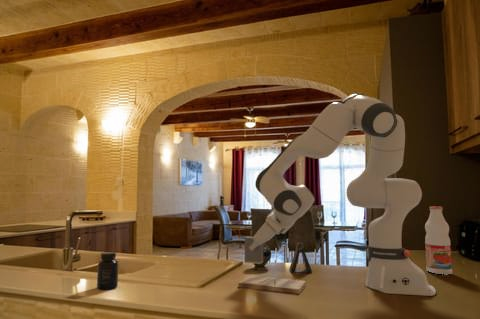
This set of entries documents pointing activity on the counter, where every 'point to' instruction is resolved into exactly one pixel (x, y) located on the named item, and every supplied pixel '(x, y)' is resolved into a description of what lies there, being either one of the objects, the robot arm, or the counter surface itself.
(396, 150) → the robot arm
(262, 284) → the board
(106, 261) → the supplement bottle
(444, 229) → the fruit juice
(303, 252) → the dark brown triangular frame
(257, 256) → the sanding block
